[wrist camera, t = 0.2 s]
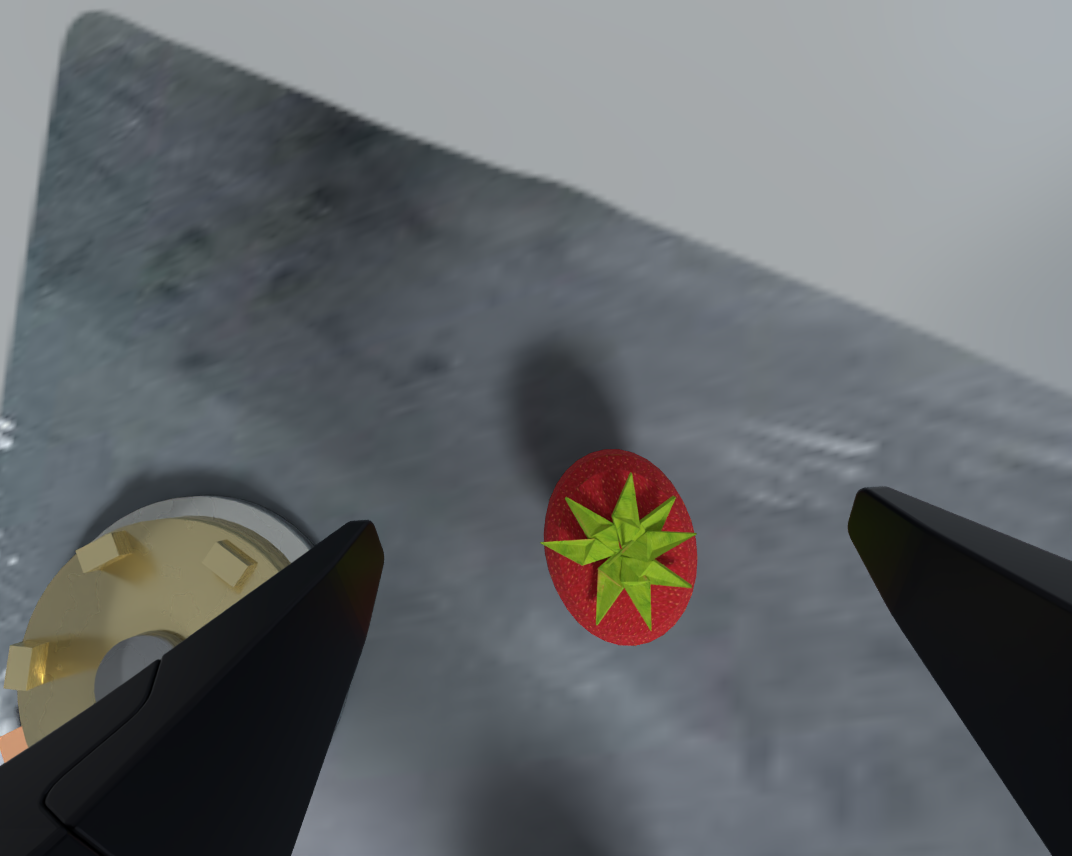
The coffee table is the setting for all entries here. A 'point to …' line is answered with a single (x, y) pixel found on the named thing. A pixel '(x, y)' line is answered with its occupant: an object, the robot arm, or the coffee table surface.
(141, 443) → the coffee table surface
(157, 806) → the robot arm
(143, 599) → the crank disc
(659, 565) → the strawberry
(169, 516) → the base plate
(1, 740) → the tab
